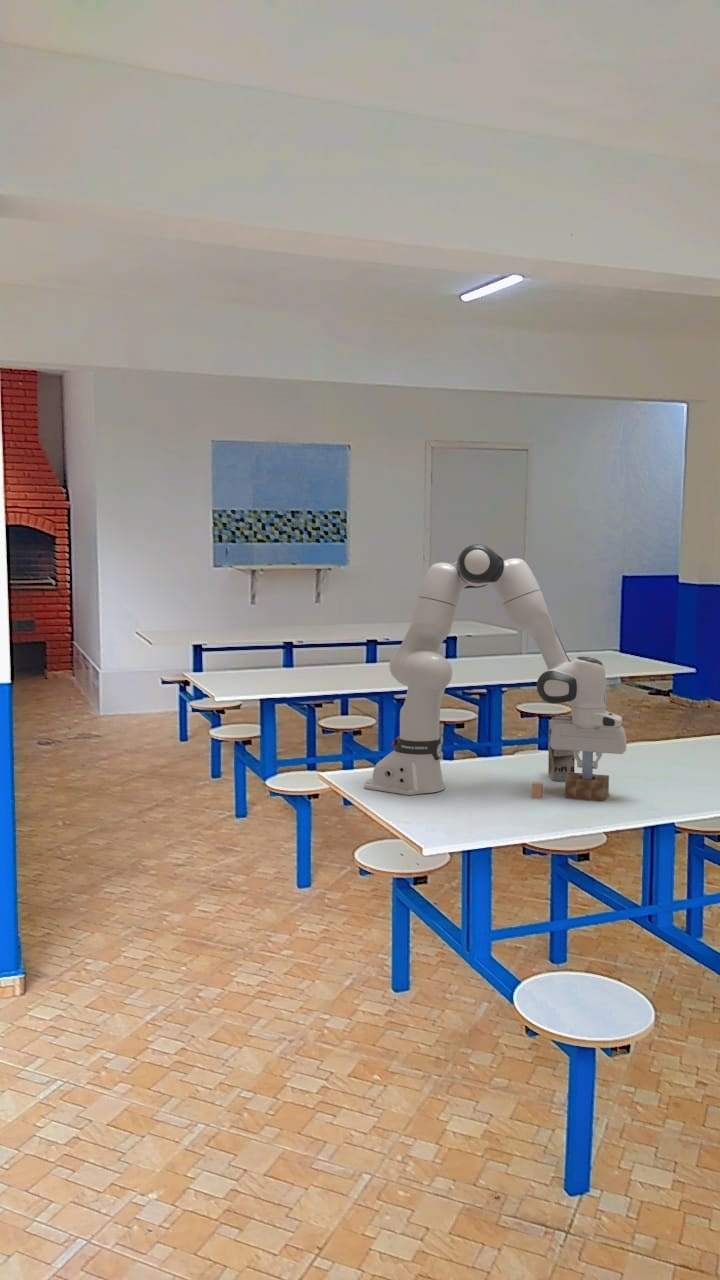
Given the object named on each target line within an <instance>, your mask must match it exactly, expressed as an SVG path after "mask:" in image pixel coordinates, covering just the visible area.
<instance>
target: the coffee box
mask: <svg viewBox="0 0 720 1280" xmlns="http://www.w3.org/2000/svg"><path fill="white" fill-rule="evenodd" d="M551 731H552V730H551V729H550V721H548V764H547V765H548V776H549V777H550V778H551V780H552V781H558V782H559V781H562V782H563V781H564V782H565V780H566V778H567V777H568V776H569V775H570V774H571V773H575V760H576V759H575V757H574V755H573V751H571V750H557V749H552V748H551V746H550V737H551Z"/></svg>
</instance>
